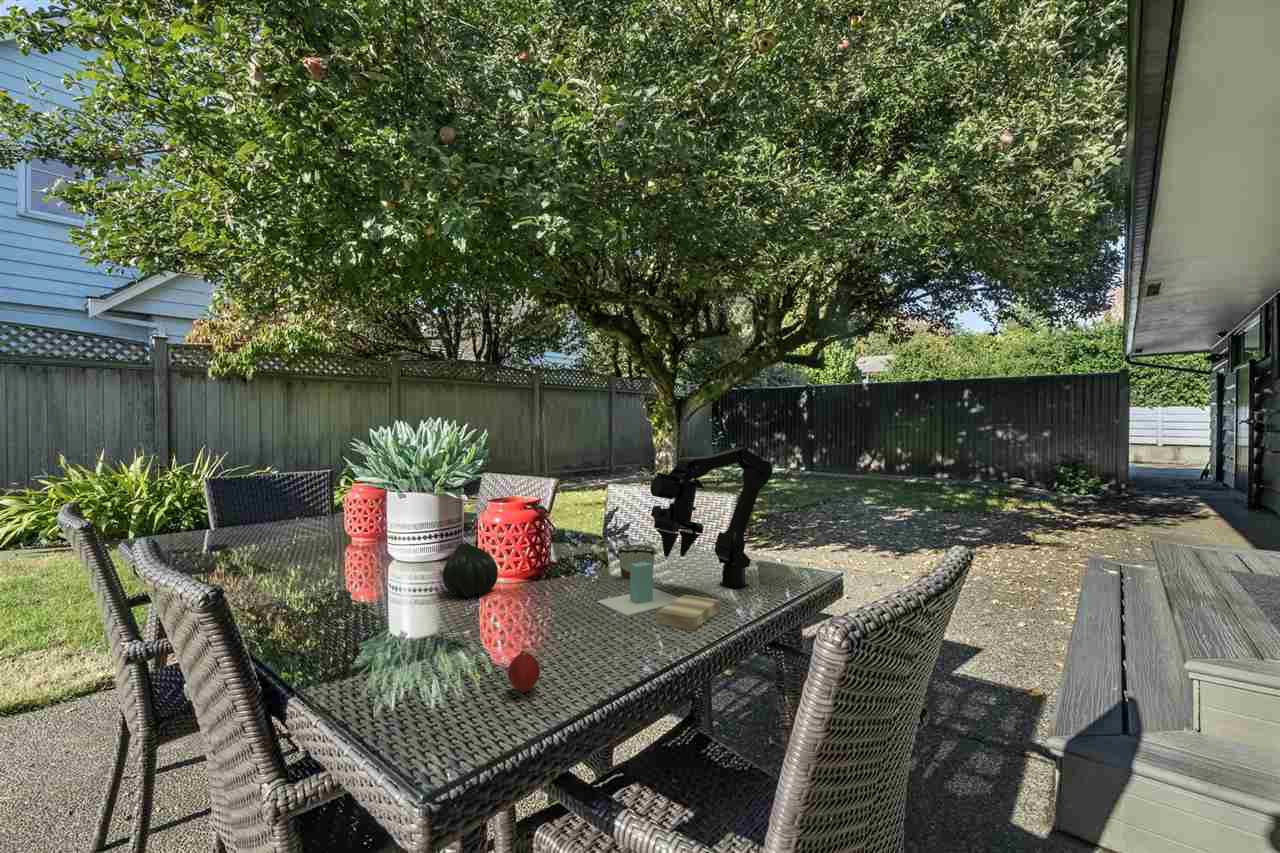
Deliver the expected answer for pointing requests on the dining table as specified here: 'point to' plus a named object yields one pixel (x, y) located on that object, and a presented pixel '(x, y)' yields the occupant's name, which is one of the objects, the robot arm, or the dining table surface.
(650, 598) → the tall teal block
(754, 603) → the dining table surface
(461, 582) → the squash
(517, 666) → the onion
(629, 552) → the food container
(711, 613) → the plate
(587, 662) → the dining table surface
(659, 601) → the mat
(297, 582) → the dining table surface
